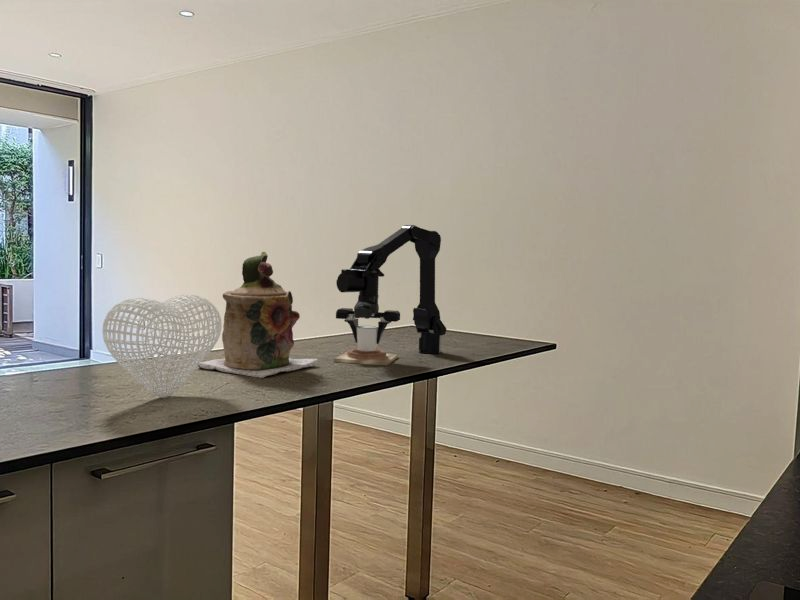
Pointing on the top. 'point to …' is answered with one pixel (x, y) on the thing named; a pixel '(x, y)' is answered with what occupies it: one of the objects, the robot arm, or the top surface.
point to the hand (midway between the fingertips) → (367, 343)
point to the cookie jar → (258, 325)
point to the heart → (162, 339)
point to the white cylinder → (367, 338)
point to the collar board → (366, 357)
